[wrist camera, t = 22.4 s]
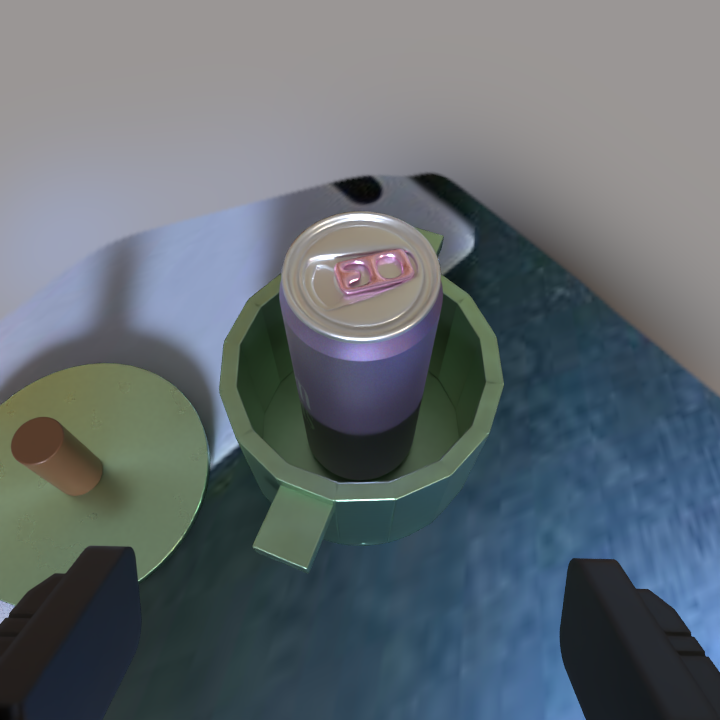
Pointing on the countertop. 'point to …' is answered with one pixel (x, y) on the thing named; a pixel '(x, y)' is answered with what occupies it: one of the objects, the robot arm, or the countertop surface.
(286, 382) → the pot
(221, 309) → the countertop surface
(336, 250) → the beverage can
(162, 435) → the pot lid
